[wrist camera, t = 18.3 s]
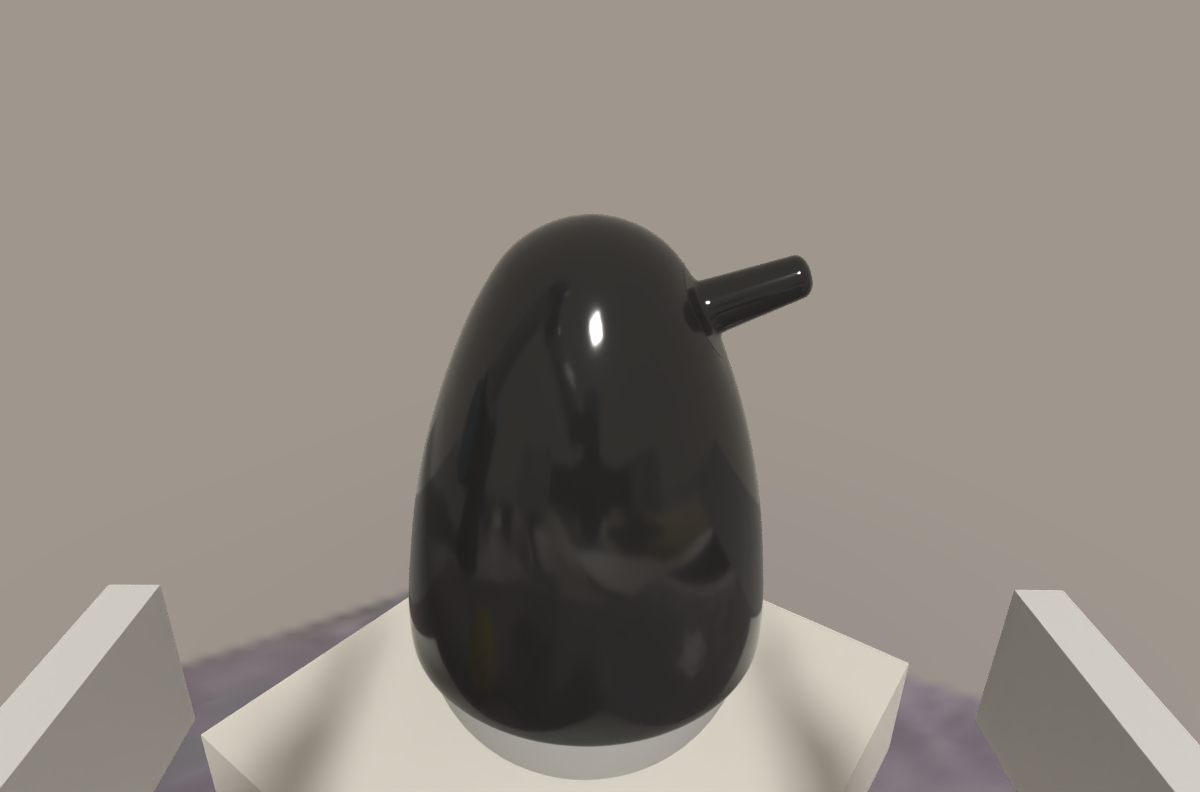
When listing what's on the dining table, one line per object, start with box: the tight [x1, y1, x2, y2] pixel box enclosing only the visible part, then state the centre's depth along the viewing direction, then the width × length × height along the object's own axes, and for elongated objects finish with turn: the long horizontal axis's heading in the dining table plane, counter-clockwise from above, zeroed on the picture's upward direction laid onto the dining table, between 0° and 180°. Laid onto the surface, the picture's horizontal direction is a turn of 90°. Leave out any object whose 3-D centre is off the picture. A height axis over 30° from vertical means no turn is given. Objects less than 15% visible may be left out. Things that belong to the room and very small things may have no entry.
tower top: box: [201, 597, 909, 792], centre depth 25 cm, size 16×16×4 cm
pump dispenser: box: [409, 214, 813, 780], centre depth 21 cm, size 10×10×15 cm
